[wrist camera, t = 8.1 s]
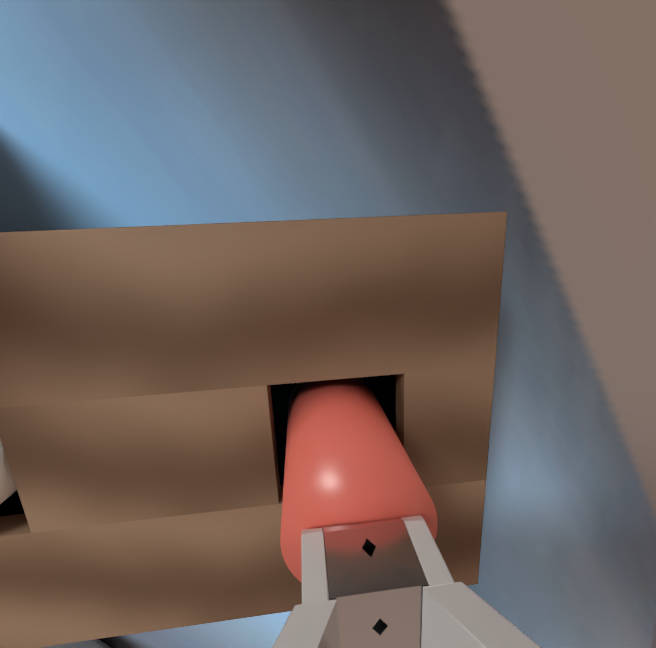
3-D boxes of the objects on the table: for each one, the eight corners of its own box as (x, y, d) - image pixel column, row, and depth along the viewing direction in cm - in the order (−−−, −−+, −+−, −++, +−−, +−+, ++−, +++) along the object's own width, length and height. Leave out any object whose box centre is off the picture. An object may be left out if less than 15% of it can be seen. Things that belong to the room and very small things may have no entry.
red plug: (285, 371, 13) (273, 475, 7) (374, 363, 14) (440, 457, 7) (291, 451, 14) (286, 607, 8) (375, 442, 15) (435, 586, 8)
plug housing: (-119, 251, 14) (-419, 249, 8) (431, 227, 16) (507, 211, 10) (-13, 537, 18) (-168, 677, 12) (424, 486, 20) (477, 583, 14)
